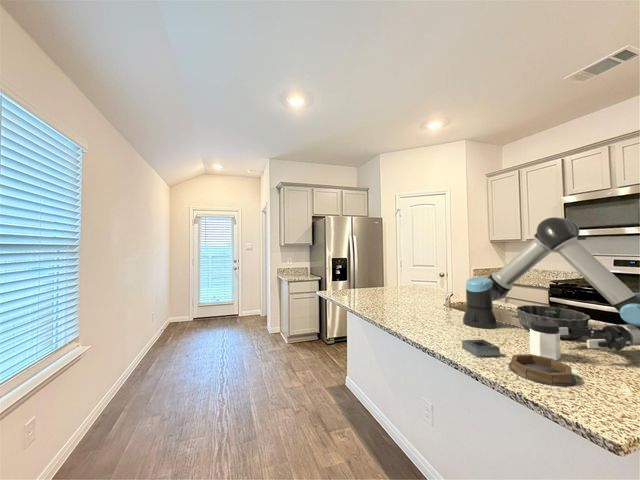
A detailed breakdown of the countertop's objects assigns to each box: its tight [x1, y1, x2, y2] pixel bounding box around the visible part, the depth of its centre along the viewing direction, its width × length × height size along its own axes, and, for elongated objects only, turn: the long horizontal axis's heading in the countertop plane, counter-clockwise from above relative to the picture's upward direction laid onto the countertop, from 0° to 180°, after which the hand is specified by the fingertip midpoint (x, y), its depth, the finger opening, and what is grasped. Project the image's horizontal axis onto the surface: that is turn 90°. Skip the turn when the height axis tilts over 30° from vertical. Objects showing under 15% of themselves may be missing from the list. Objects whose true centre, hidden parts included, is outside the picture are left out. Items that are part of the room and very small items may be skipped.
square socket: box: [461, 339, 501, 358], centre depth 106 cm, size 9×9×3 cm
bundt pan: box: [515, 304, 591, 340], centre depth 128 cm, size 26×26×10 cm
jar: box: [529, 321, 561, 361], centre depth 102 cm, size 9×8×12 cm
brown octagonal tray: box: [508, 353, 577, 387], centre depth 89 cm, size 17×17×3 cm
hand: (568, 337), depth 103 cm, fingers open, 13 cm apart
